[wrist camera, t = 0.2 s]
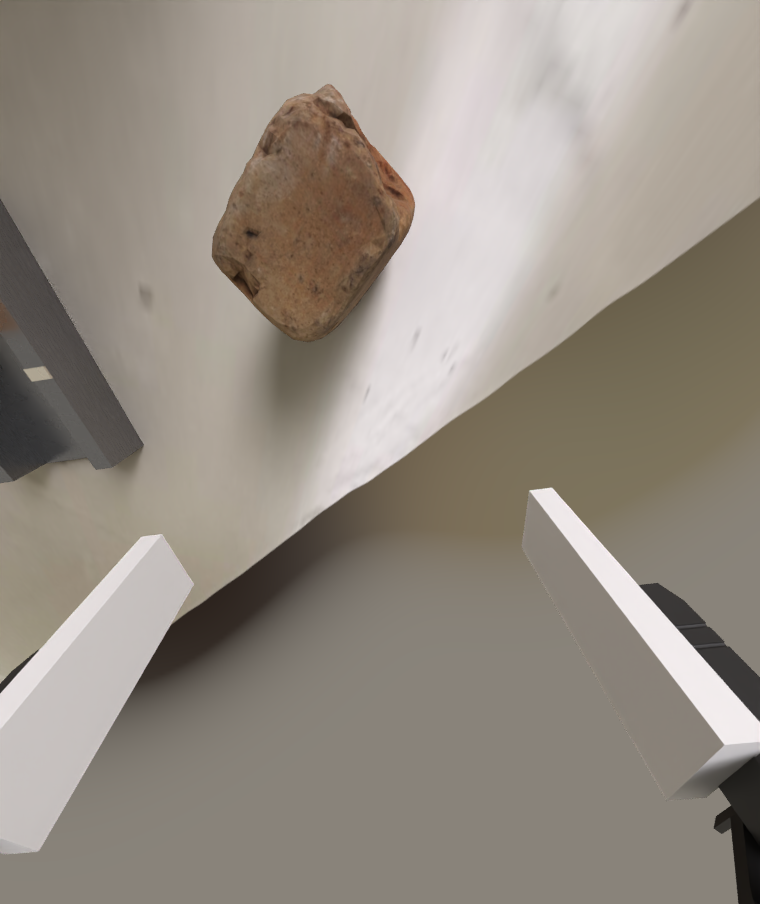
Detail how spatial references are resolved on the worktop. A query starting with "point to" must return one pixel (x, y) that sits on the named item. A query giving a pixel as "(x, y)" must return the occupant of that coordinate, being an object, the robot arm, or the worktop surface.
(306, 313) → the block
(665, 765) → the robot arm
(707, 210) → the worktop surface
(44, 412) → the chute
